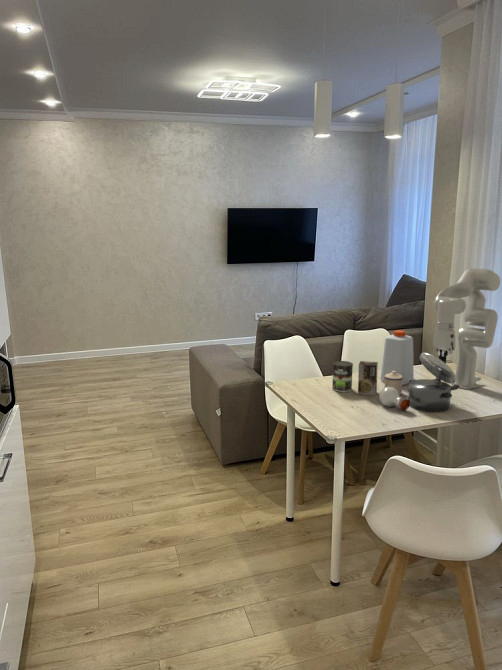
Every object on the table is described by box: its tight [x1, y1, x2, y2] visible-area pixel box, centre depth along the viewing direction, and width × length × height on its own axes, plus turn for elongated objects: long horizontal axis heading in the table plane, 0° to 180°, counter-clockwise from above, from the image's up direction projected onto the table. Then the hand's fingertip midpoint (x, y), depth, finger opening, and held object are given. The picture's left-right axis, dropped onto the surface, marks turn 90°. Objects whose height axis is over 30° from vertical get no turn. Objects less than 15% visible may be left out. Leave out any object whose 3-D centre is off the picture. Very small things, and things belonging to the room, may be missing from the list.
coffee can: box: [331, 360, 354, 393], centre depth 275 cm, size 10×10×14 cm
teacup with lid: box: [383, 371, 403, 396], centre depth 270 cm, size 12×9×12 cm
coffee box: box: [357, 360, 379, 397], centre depth 269 cm, size 9×6×16 cm
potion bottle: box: [378, 386, 410, 412], centre depth 249 cm, size 9×10×15 cm
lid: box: [418, 352, 457, 385], centre depth 250 cm, size 20×20×3 cm
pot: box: [407, 377, 461, 413], centre depth 252 cm, size 21×25×10 cm
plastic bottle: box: [380, 329, 415, 386], centre depth 287 cm, size 15×15×28 cm
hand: (442, 363), depth 251 cm, fingers closed
